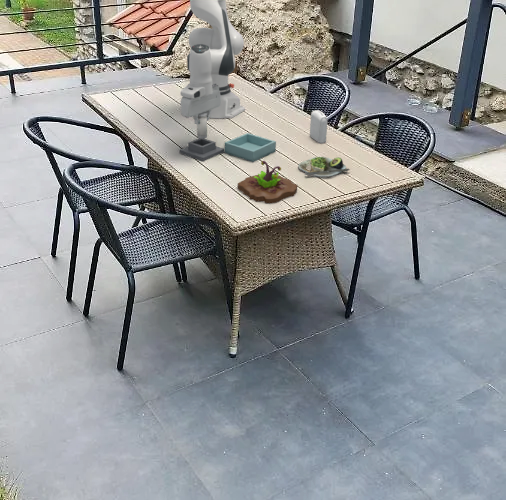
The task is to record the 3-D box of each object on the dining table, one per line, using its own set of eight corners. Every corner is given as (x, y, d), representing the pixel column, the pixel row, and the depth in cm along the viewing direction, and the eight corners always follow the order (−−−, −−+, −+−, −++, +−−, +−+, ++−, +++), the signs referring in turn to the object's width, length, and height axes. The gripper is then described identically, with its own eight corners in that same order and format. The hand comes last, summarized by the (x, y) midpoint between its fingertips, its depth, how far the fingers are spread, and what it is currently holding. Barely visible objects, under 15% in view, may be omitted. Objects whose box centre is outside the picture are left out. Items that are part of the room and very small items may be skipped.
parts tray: (247, 143, 279) (247, 132, 277) (275, 151, 272) (276, 141, 269) (224, 152, 269) (224, 142, 267) (253, 162, 261) (253, 151, 259)
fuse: (201, 134, 268) (201, 110, 263) (209, 136, 266) (208, 112, 261) (195, 137, 265) (194, 113, 260) (202, 139, 263) (202, 115, 258)
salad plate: (320, 185, 245) (321, 174, 242) (287, 170, 256) (287, 159, 253) (354, 172, 256) (355, 161, 254) (320, 158, 267) (321, 147, 265)
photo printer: (308, 135, 289) (310, 108, 283) (317, 134, 290) (319, 107, 284) (318, 143, 281) (320, 116, 274) (327, 142, 282) (329, 115, 276)
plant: (268, 175, 251) (269, 147, 246) (305, 192, 239) (307, 163, 233) (228, 189, 240) (229, 160, 234) (265, 207, 227) (266, 178, 222)
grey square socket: (201, 144, 277) (200, 134, 274) (224, 152, 270) (224, 141, 268) (179, 153, 268) (179, 142, 266) (203, 161, 261) (203, 150, 259)
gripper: (212, 81, 264) (213, 114, 271) (177, 92, 250) (178, 127, 257) (224, 84, 261) (224, 117, 268) (189, 95, 247) (190, 130, 254)
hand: (201, 122), depth 262 cm, fingers closed on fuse, 4 cm apart
